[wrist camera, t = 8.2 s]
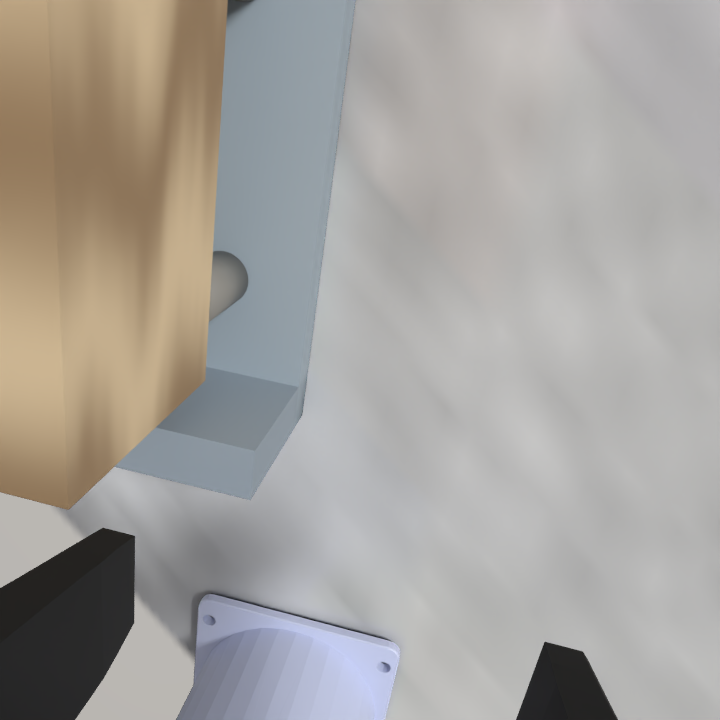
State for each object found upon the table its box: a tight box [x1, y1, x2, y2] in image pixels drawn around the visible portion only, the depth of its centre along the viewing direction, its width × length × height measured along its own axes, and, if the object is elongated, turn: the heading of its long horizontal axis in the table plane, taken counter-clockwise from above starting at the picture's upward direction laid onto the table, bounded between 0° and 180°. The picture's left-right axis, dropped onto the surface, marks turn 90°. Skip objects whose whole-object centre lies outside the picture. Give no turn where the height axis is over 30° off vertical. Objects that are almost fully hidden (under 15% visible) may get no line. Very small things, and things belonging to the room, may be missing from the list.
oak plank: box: [0, 0, 228, 510], centre depth 12 cm, size 12×4×6 cm, turn 171°
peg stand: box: [114, 0, 355, 500], centre depth 15 cm, size 17×8×5 cm, turn 172°
